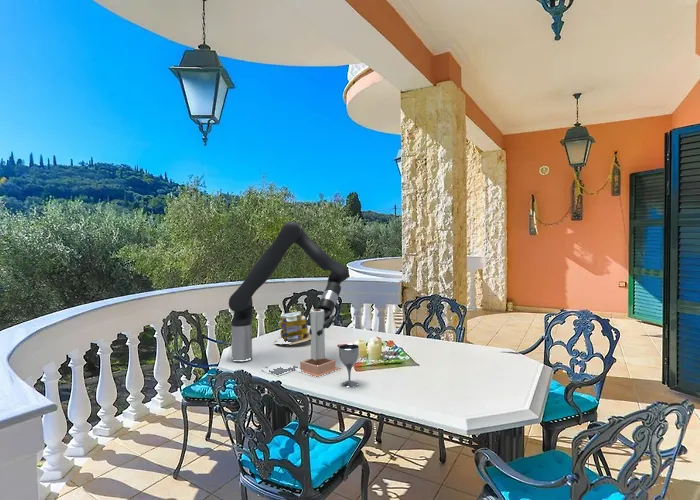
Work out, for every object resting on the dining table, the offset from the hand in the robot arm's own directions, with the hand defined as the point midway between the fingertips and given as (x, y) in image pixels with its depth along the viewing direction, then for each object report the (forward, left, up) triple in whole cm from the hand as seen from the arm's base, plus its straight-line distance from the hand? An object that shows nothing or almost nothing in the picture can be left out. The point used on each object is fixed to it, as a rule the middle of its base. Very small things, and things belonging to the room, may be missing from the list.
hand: (314, 334), depth 172 cm
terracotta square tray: (0, +2, -16) cm, 16 cm away
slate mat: (-14, -8, -16) cm, 23 cm away
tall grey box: (-1, +2, -11) cm, 11 cm away
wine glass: (+22, -2, -16) cm, 27 cm away
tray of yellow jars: (-46, +29, -17) cm, 56 cm away
